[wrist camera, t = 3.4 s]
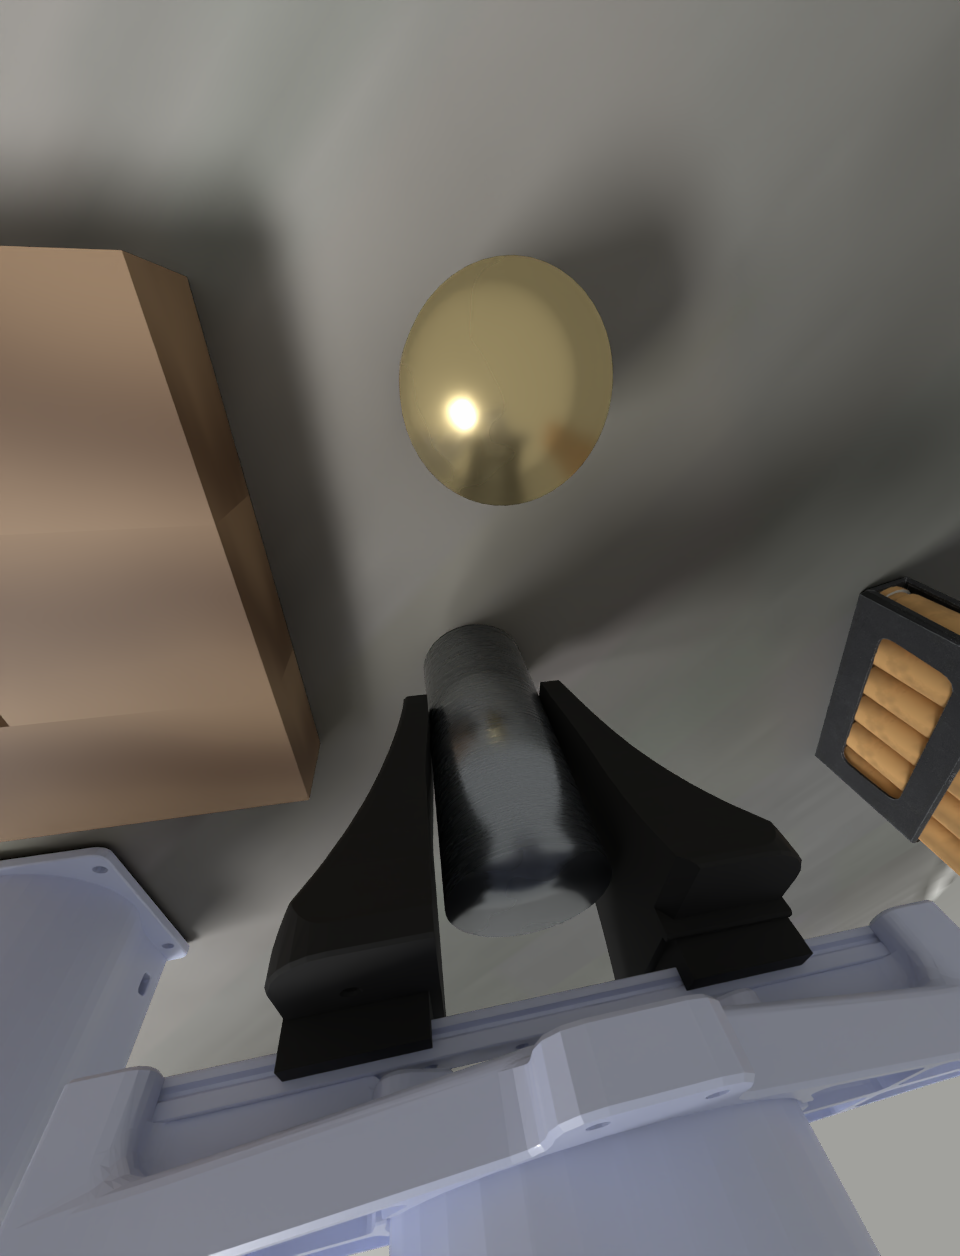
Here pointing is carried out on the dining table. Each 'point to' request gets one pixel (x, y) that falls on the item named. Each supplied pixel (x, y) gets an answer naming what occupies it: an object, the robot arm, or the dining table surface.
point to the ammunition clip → (901, 713)
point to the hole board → (130, 564)
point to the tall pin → (504, 794)
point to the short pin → (506, 380)
